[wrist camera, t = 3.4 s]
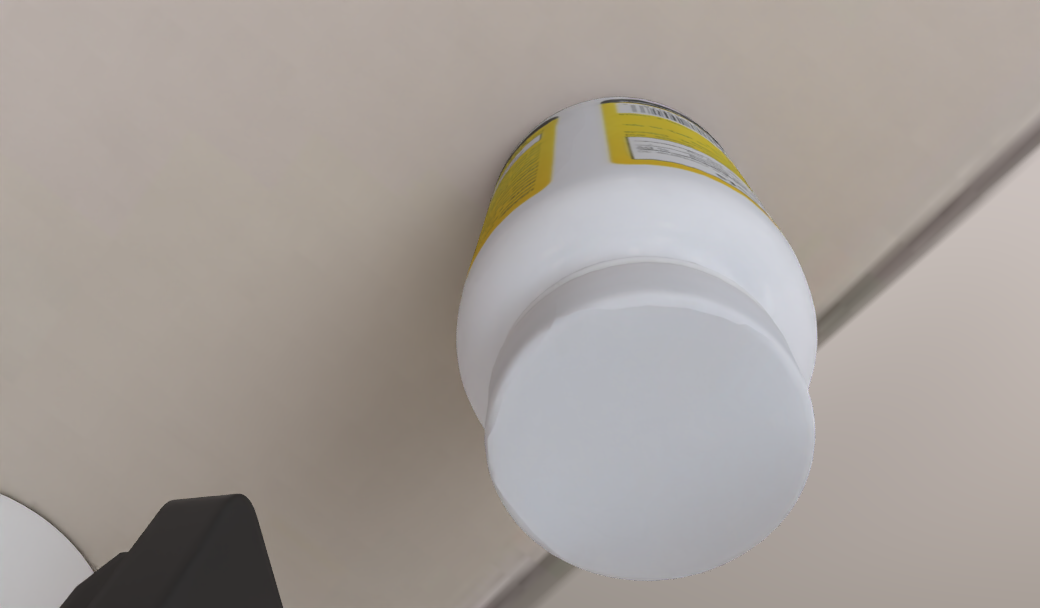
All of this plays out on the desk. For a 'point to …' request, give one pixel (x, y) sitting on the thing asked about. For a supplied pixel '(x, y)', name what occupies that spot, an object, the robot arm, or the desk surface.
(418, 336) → the desk surface
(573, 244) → the supplement bottle
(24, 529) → the cup
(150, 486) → the desk surface
